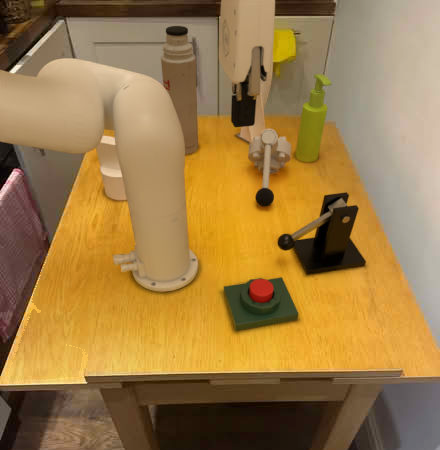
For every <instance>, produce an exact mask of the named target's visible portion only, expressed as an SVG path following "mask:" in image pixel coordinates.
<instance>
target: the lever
mask: <svg viewBox="0 0 440 450" xmlns="http://www.w3.org/2000/svg"><path fill="white" fill-rule="evenodd" d="M346 206H348V205H347V204H346V203H345V202H344V200H343V199H342V198H341V199H339V200H337V201H336V202H334V203H333V204H331V205H329V206H328V208H329V210H330V211H329V212H327V213H326V214H324V215H322V216H321V217H317V218H315V219H314V220H312V221H311V222H309V223H308V224H306V225H304V226H303V227H301V228H299V229H297V230H296V231H294V232H293V233H282V234H281V235H279V236H278V238H277V246H278V248H279V249H280V250H282V251H284V252H287V251H291V250H292V249H293V246H294V244H295V241H296V240H300V239H302V238H303V237H305V236H306V235H308V234H309V233H311V232H313V231H314V230H316V229H317V228H318V227H319V226H321V225H322V224H324V223H326V222H327V221H329V220H330V219H331V215H332V212H333V208H338V207H346Z"/></svg>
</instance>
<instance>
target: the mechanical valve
mask: <svg viewBox="0 0 440 450" xmlns="http://www.w3.org/2000/svg"><path fill="white" fill-rule="evenodd" d="M278 136H279V134H278V133H277V131H276V130H275V129H273V128H265V130H263V131H262V132H261V137H258V136H256V137H254V138H253V141H252V142H251V143H250V144H249V143H248V155H247V158H248V160H249V161H250V162H252V163H253V164H254V165H253V166H254V168H256V169H257V171H258V172H260V173H262V182H261V183H262V184H261V185H262V186H261V188H260V189H257V191H256V192H255V193H256V194H255V198H254V199H255V202H256V204H257V205H258V206H260V207H263V208H267V207H269V206H271V205H272V204H273V202H274V200H275V194H274V192H273V190H272V189H271V188H270V175H271V174H277V173H279V172H280V169H284V168H286V167H285V166H286V163H289V162H290V161H291V158H292V144H291V143H290V142H289V141H288V140H287V137H286V136H279V137H278Z"/></svg>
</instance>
